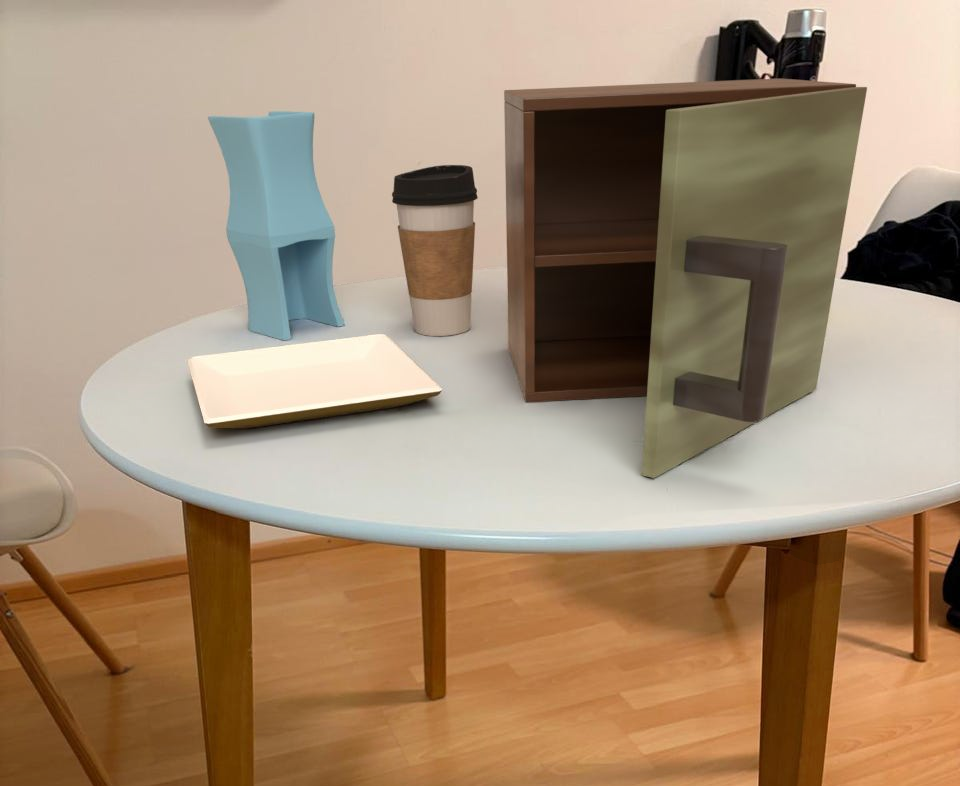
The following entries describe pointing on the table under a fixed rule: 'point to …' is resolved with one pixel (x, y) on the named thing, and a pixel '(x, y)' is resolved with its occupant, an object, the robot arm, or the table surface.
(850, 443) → the table surface
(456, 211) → the coffee cup
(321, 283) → the vase
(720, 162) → the door
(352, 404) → the plate
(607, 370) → the cupboard
